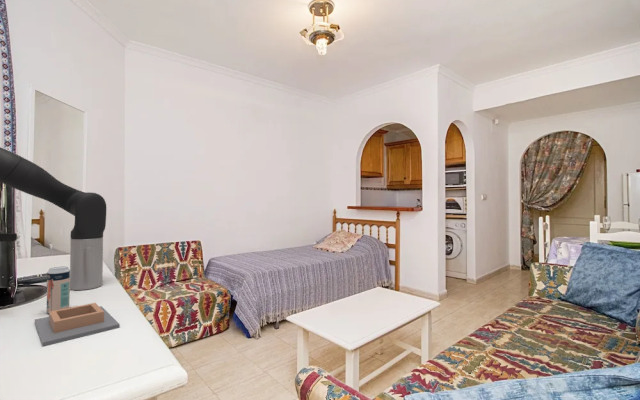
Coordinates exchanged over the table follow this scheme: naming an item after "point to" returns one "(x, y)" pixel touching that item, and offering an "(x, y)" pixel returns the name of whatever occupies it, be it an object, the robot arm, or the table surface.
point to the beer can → (58, 288)
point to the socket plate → (74, 323)
